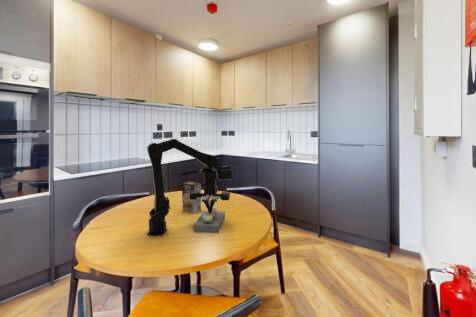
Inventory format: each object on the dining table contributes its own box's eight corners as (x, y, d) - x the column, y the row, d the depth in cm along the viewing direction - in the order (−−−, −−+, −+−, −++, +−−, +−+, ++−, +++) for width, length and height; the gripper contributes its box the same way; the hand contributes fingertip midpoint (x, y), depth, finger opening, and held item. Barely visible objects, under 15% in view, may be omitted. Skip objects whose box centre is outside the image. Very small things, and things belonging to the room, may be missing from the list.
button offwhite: (207, 212, 126) (207, 208, 125) (209, 209, 130) (209, 206, 130) (216, 212, 125) (216, 208, 125) (218, 209, 130) (218, 206, 129)
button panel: (193, 232, 112) (193, 225, 112) (204, 216, 132) (203, 210, 132) (218, 232, 111) (218, 225, 111) (224, 217, 131) (224, 211, 131)
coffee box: (181, 211, 142) (181, 183, 140) (189, 208, 147) (189, 181, 145) (194, 213, 137) (193, 184, 135) (201, 210, 142) (201, 182, 140)
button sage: (201, 221, 113) (201, 217, 113) (203, 218, 117) (203, 214, 117) (211, 221, 112) (211, 217, 112) (213, 218, 117) (213, 214, 116)
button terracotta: (205, 218, 119) (204, 214, 119) (206, 214, 124) (206, 211, 123) (214, 218, 119) (214, 214, 119) (215, 215, 123) (215, 211, 123)
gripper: (231, 178, 126) (231, 208, 128) (195, 177, 128) (195, 207, 130) (228, 182, 115) (228, 215, 117) (188, 182, 117) (189, 214, 119)
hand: (210, 213), depth 121 cm, fingers closed, pressing on button terracotta
